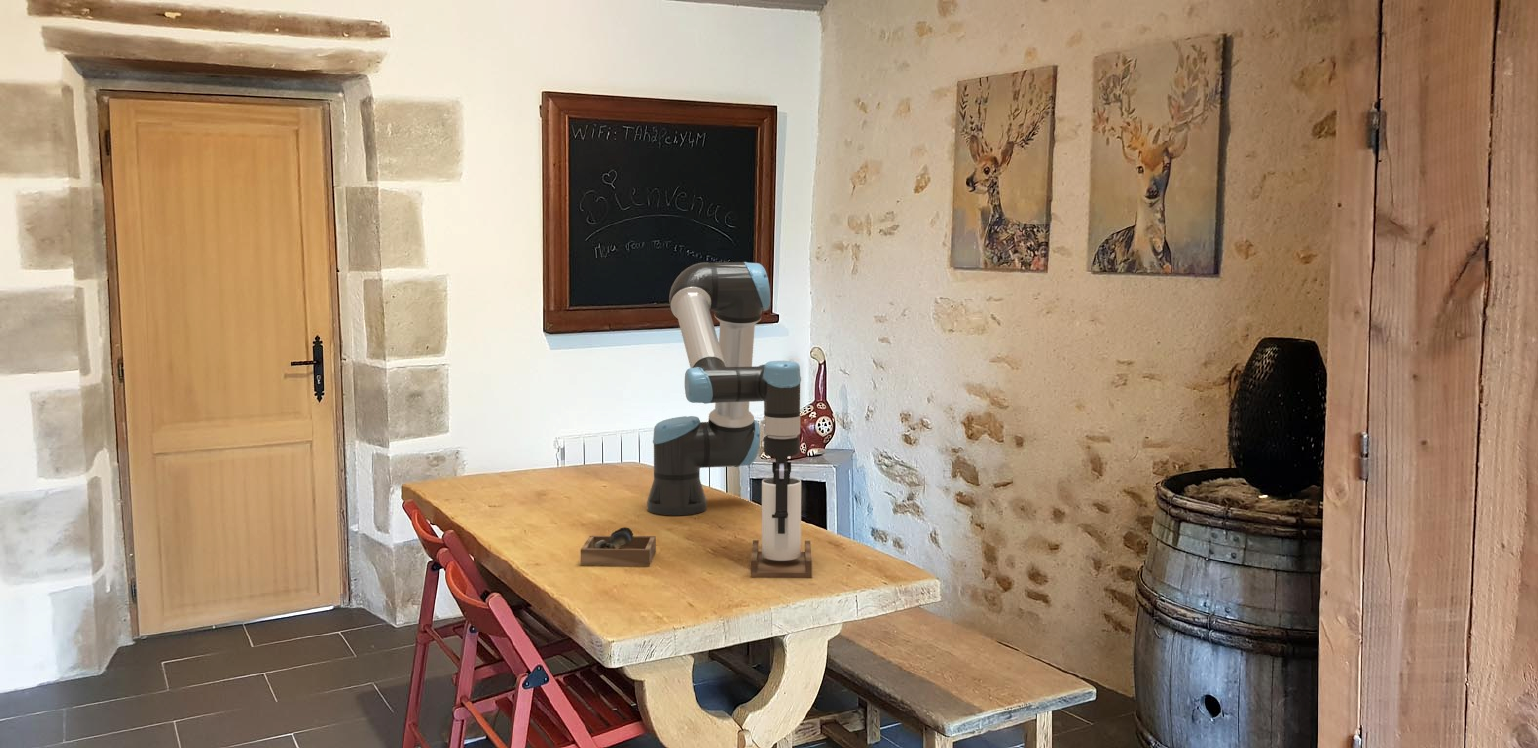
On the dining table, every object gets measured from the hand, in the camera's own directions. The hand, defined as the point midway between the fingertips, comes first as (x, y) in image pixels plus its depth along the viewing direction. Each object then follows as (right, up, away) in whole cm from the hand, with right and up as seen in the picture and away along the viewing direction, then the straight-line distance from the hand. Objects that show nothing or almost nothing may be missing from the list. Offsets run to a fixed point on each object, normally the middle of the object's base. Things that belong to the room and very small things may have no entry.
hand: (781, 542), depth 240 cm
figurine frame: (-35, -4, +6) cm, 36 cm away
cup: (0, -3, 0) cm, 3 cm away
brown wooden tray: (0, -5, +1) cm, 5 cm away
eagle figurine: (-36, -5, +6) cm, 37 cm away
